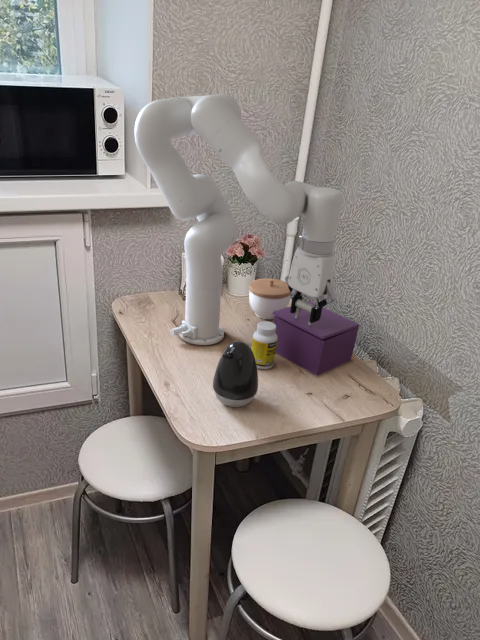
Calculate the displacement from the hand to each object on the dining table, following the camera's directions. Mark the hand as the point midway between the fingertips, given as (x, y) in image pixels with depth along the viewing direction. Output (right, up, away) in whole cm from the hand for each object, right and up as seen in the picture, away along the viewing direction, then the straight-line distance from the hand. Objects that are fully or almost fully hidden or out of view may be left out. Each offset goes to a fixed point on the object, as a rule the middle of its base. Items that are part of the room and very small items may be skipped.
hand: (304, 315), depth 130 cm
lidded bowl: (-5, +4, +30) cm, 30 cm away
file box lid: (+4, -1, +4) cm, 5 cm away
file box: (+4, -9, +10) cm, 14 cm away
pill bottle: (-10, -12, +5) cm, 16 cm away
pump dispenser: (-18, -21, -9) cm, 29 cm away
